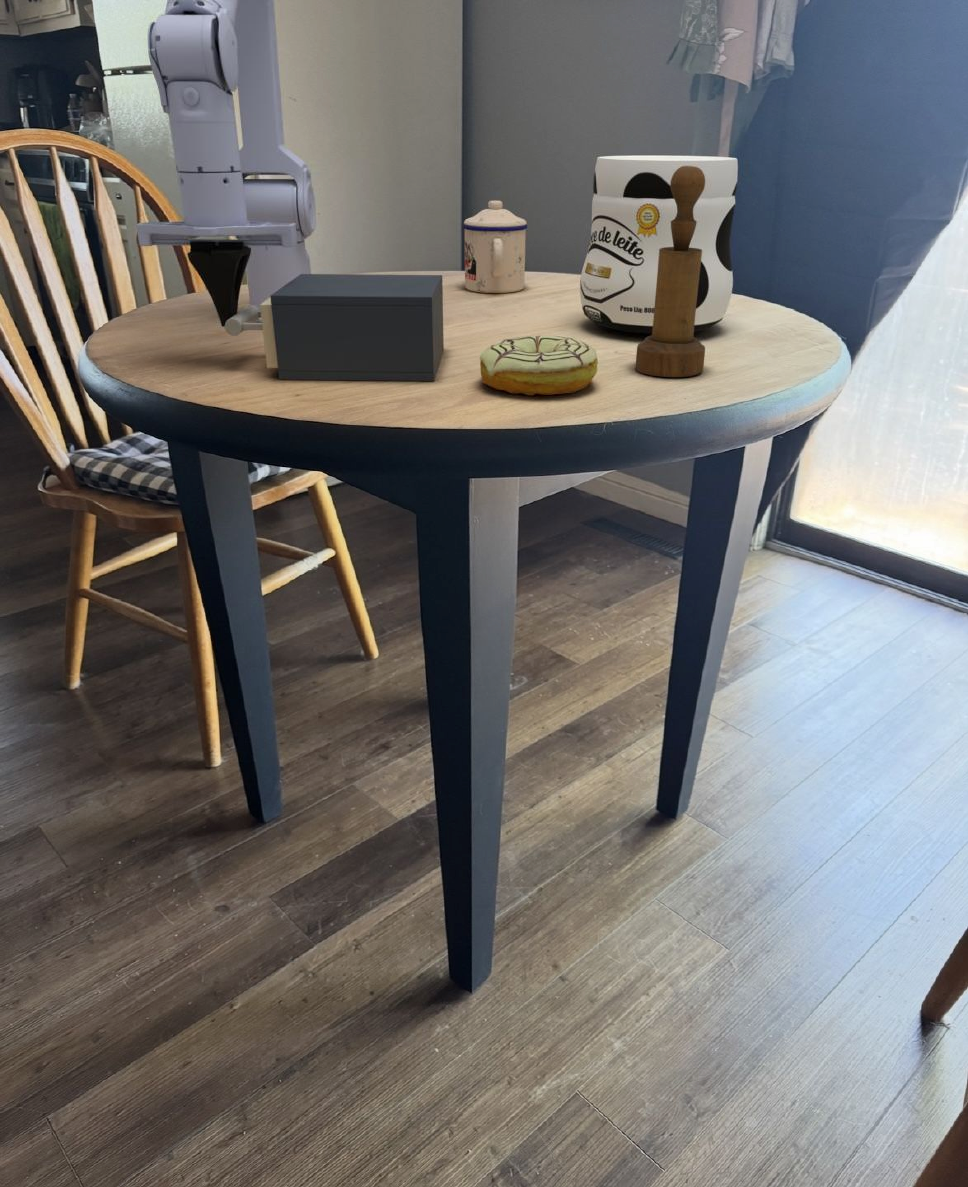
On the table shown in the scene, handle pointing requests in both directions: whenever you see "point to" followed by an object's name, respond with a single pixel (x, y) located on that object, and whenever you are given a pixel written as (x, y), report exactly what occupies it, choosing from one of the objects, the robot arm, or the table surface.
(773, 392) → the table surface
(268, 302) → the drawer
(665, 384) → the table surface
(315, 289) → the cabinet
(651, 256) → the milk container
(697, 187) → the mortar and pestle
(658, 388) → the table surface
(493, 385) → the decorated donut
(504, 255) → the teacup with lid
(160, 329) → the table surface
